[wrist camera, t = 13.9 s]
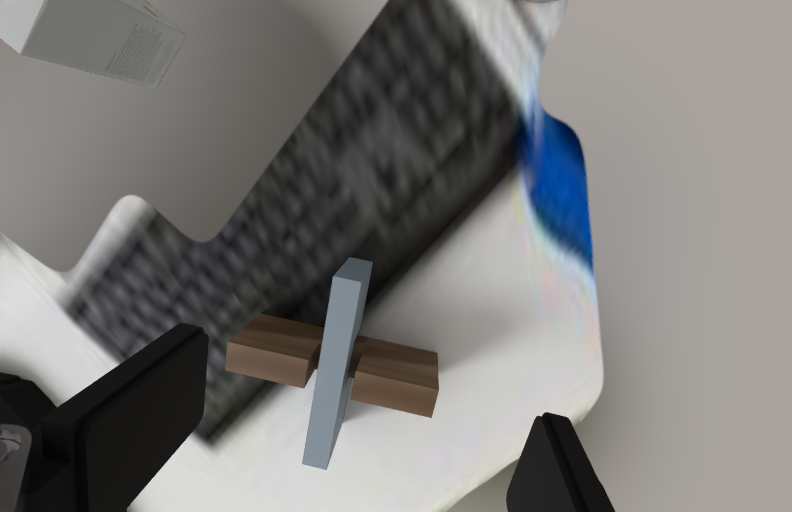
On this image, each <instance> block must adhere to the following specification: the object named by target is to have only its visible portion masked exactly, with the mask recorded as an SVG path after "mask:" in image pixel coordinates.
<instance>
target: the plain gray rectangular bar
mask: <svg viewBox="0 0 792 512" xmlns="http://www.w3.org/2000/svg"><path fill="white" fill-rule="evenodd" d="M372 265H373V262H371V261H366V260H361V259H357V258H352V257H349V259H348V260H347V261H346V262H345V263H344V264H343V265H342V267H341V268H340V269H339V270H338V271H337V272H336V274H335V275H334V276H333V281H332V287H331V293H330V299H329V305H328V311H327V317H326V323H325V329H324V335H323V341H322V347H321V353H320V359H319V365H318V371H317V378H316V384H315V390H314V396H313V402H312V408H311V414H310V420H309V426H308V432H307V438H306V444H305V450H304V456H303V462H302V464H304V465H308V466H313V467H317V468H321V469H325V470H327V467H328V464H329V461H330V458H331V455H332V452H333V449H334V446H335V443H336V440H337V437H338V435H339V432H340V429H341V426H342V422H343V417H344V412H345V407H346V401H347V396H348V391H349V386H350V380H351V377H348V372H349V367H350V362H351V356H352V351H353V346H354V342H355V339H356V337H357V335H358V332H359V330H360V328H361V323H362V318H363V312H364V307H365V302H366V297H367V292H368V286H369V281H370V276H371V271H372Z"/></svg>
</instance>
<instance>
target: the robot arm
mask: <svg viewBox="0 0 792 512" xmlns="http://www.w3.org/2000/svg"><path fill="white" fill-rule="evenodd" d="M522 1H526V2H534V3H545V2H551V1H556V0H522ZM208 342H209V337H208V335H207V334H204V330H203V328H202V327H198V326H194V325H190V324H186V323H180V324H178V325H176V326H175V327H173V328H172V329H171V330H169V331H168V332H166V333H165V334H163V335H162V336H160V337H159V338H158V339H156V340H155V341H153V342H152V343H150V344H149V345H147V346H146V347H144V348H143V349H142V350H140V351H139V352H137V353H136V354H134V355H133V356H131V357H130V358H128V359H127V360H126V361H124V362H123V363H121V364H120V365H118V366H117V367H115V368H114V369H113V370H111V371H110V372H108V373H107V374H105V375H104V376H102V377H101V378H99V379H98V380H97V381H95V382H94V383H92V384H91V385H89V386H88V387H86V388H85V389H83V390H82V391H81V392H79V393H78V394H76V395H75V396H73V397H72V398H70V399H69V400H68V401H66V402H65V403H63V404H62V405H60V406H59V407H57V408H56V409H54V410H53V411H52V412H50V413H49V414H47V415H46V416H44V417H43V418H41V419H40V423H39V424H38V425H36V426H35V427H33V428H32V429H30V430H29V431H28V430H27V429H26V428H24V427H21V426H19V425H11V424H1V425H0V512H124V511H125V510H126V509H127V507H128V506H129V505H130V504H131V503H132V502H133V500H134V499H135V498H136V497H137V496H138V495H139V493H140V492H141V491H142V490H143V489H144V488H145V486H146V485H147V484H148V483H149V482H150V481H151V479H152V478H153V477H154V476H155V475H156V474H157V472H158V471H159V470H160V469H161V468H162V467H163V465H164V464H165V463H166V462H167V461H168V460H169V458H170V457H171V456H172V455H173V454H174V453H175V451H176V450H177V449H178V448H179V447H180V446H181V444H182V443H183V442H184V441H185V440H186V439H187V437H188V436H189V435H190V434H191V433H192V432H193V430H194V429H195V428H196V427H197V426H198V424H199V423H200V421H201V419H202V416H203V412H204V400H205V385H206V371H207V356H208ZM506 502H507V509H508V512H615V510H614V508H613V506H612V504H611V502H610V500H609V498H608V496H607V494H606V492H605V490H604V488H603V486H602V484H601V483H600V481H599V480H598V478H597V476H596V474H595V472H594V470H593V467H592V465H591V463H590V461H589V459H588V457H587V455H586V453H585V451H584V449H583V447H582V445H581V443H580V440H579V439H578V436H577V434H576V432H575V430H574V428H573V426H572V424H571V422H570V420H569V418H567V417H564V416H560V415H556V414H552V413H548V412H546V413H544V414H543V415H542V417H541V416H537V417H536V418H535V420H534V423H533V425H532V428H531V430H530V433H529V436H528V438H527V441H526V443H525V446H524V449H523V451H522V454H521V456H520V459H519V462H518V464H517V467H516V469H515V472H514V475H513V477H512V480H511V482H510V485H509V488H508V491H507V498H506Z"/></svg>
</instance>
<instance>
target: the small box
mask: <svg viewBox="0 0 792 512" xmlns="http://www.w3.org/2000/svg"><path fill="white" fill-rule="evenodd" d="M185 38H186V34H185V33H184V32H182V31H181V30H180V29H179V28H178V27H177V26H176V25H174V24H173V23H172V22H171V21H170V20H168V19H167V18H166V17H165V16H164V15H162V14H161V13H160V12H159V11H158V10H157V9H155V8H154V7H153V6H152V5H151V4H149V3H148V2H147V1H146V0H0V39H1V40H2V41H4V42H5V43H6V44H7V45H9V46H10V47H11V48H12V49H14V50H15V51H16V52H18V53H19V54H20V55H25V56H28V57H32V58H36V59H40V60H44V61H48V62H52V63H56V64H60V65H63V66H67V67H71V68H75V69H79V70H83V71H86V72H90V73H95V74H99V75H102V76H106V77H110V78H113V79H118V80H122V81H125V82H129V83H133V84H137V85H140V86H145V87H149V88H152V89H155V88H157V86H158V85H159V83H160V81H161V79H162V77H163V76H164V74H165V72H166V71H167V69H168V67H169V65H170V64H171V62H172V60H173V59H174V57H175V55H176V53H177V52H178V50H179V48H180V47H181V45H182V43H183V41H184V39H185Z"/></svg>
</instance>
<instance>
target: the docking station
mask: <svg viewBox="0 0 792 512" xmlns="http://www.w3.org/2000/svg"><path fill="white" fill-rule="evenodd" d="M54 409H56V406H55V405H54V404H53V403H52V402H51V400H50V399H49V398H48V397H47V396H46V395H45V394H44V393H43V392H42V391H41V390H40V389H39V388H38V387H37V386H36V385H35V384H34V383H33V382H32V381H28V380H22V379H19V377H18V376H15V375H9V374H4V373H0V425H1V424H11V425H19V426H21V427H24V428H26V429H27V430H28V431H29V430H30V429H32V428H33V427H35V426H36V425H38V424H39V423H40V419H41V418H43V417H44V416H46V415H47V414H49V413H50V412H52V411H53V410H54ZM124 512H127V511H126V510H125V511H124Z"/></svg>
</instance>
